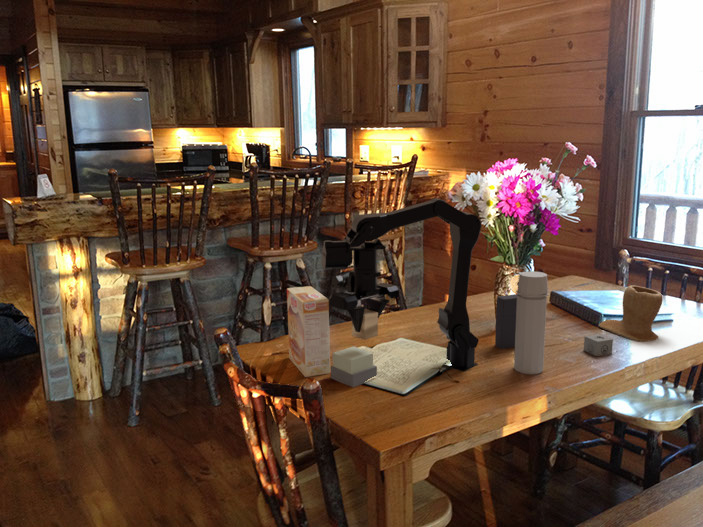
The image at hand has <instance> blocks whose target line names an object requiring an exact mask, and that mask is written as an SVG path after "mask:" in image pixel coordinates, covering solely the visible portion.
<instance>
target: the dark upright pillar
mask: <svg viewBox="0 0 703 527" xmlns="http://www.w3.org/2000/svg"><path fill="white" fill-rule="evenodd" d="M517 295H518V294H517V293H516V294H508V295H507V294H506V295H499V296H497V297H496V309H495V313H496V314H495V335H494V336H495V340H494V342H495V343H494V347H496V348H498V349H499V350H505V349H512V348H515V332H516V308H517Z"/></svg>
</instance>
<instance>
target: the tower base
mask: <svg viewBox="0 0 703 527" xmlns="http://www.w3.org/2000/svg"><path fill="white" fill-rule="evenodd" d="M376 375H377V376H378V366H376V365H374V364H373V367H372V368H369V369H366V370H363V371H360V372H357V373H354V374H349V373H347V372H345V371H342V370H340V369H338V368H335V367H333V365H332V366H331V365H330V379H332V380H333V381H336V382H339V383H340V384H343V385H346V386H349V387H352V388H356V387H359V386H361V385H364V384H365V383H364V382H365V381H367V380H368V379H370V378H372V377H374V376H376Z"/></svg>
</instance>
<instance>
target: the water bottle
mask: <svg viewBox="0 0 703 527" xmlns="http://www.w3.org/2000/svg"><path fill="white" fill-rule="evenodd" d="M548 281H549V280H548V274H547V273H545V272H542V271H532V270H531V271H522V272H520V273H519V277H518V285H517V290H516V291H515V293H516V294H518V295H517V308H516V332H515V347H514V357H513V359H514V360H513V361H514V364H513V369H514V370H515V371H516V372H518V373H521V374H523V375H539V374H541V373H543V371H544V362H545V361H544V360H545V359H544V358H545V341H546V322H547V321H546V319H547V304H548V302H547V301H548V300H547V299H548V297H549V296H550V294H549V287H548V286H549V284H548V283H549V282H548Z"/></svg>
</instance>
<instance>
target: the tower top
mask: <svg viewBox="0 0 703 527" xmlns="http://www.w3.org/2000/svg"><path fill="white" fill-rule="evenodd" d="M373 365H374V352H373V353H372V352H371V351H367V350H365V349H362V348H359V347H357V346H350V347H348V348H344V349H340V350H337V351H334V352H332V366H333V367H335V368H338V369H340V370H342V371H345V372H347V373H349V374H354V373H357V372H360V371H363V370H366V369H369V368H372V367H373Z"/></svg>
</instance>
